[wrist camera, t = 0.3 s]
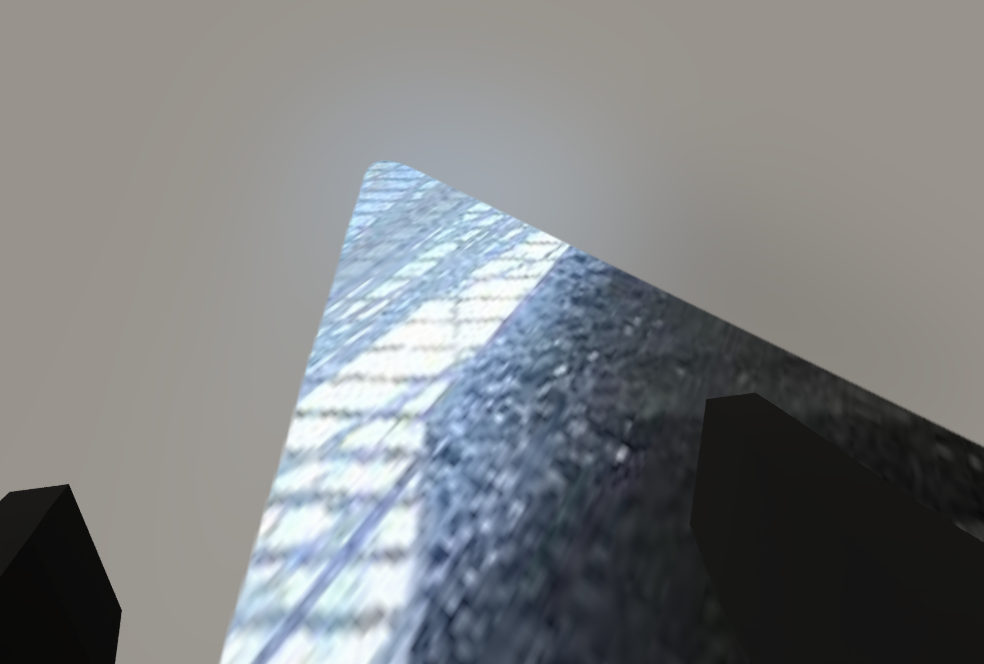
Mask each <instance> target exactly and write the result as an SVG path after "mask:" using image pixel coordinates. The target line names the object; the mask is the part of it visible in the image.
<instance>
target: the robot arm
mask: <svg viewBox="0 0 984 664" xmlns="http://www.w3.org/2000/svg"><path fill="white" fill-rule="evenodd" d="M690 526H691V529H692V531H693V534H694V537H695V540H696V543H697V545H698V548H699V551H700V554H701V556H702V559H703V562H704V565H705V567H706V570H707V573H708V575H709V578H710V580H711V583H712V585H713V588H714V591H715V593H716V596H717V598H718V601H719V603H720V605H721V607H722V609H723V611H724V613H725V615H726V617H727V619H728V621H729V623H730V625H731V626H732V628H733V630H734V632H735V634H736V636H737V638H738V640H739V642H740V644H741V646H742V648H743V650H744V652H745V653H746V655H747V657H748V659H749V661H750V663H751V664H984V542H982V541H980V540H979V539H977V538H975V537H974V536H972V535H970V534H969V533H967V532H965V531H964V530H962V529H960V528H959V527H957V526H956V525H954V524H952V523H951V522H949V521H948V520H946V519H944V518H943V517H941V516H940V515H938V514H936V513H935V512H933V511H932V510H930V509H928V508H927V507H925V506H924V505H922V504H921V503H919V502H918V501H916V500H914V499H913V498H911V497H910V496H908V495H907V494H905V493H904V492H902V491H901V490H899V489H898V488H896V487H895V486H893V485H892V484H890V483H889V482H887V481H886V480H884V479H883V478H881V477H880V476H878V475H877V474H875V473H874V472H872V471H871V470H869V469H868V468H866V467H865V466H863V465H862V464H860V463H859V462H857V461H856V460H854V459H853V458H851V457H850V456H849V455H847V454H846V453H844V452H843V451H841V450H840V449H838V448H837V447H835V446H834V445H832V444H831V443H830V442H828V441H827V440H825V439H824V438H822V437H821V436H819V435H818V434H816V433H815V432H814V431H812V430H811V429H809V428H808V427H806V426H805V425H803V424H802V423H800V422H799V421H797V420H796V419H795V418H793V417H792V416H790V415H789V414H787V413H786V412H784V411H783V410H781V409H780V408H778V407H777V406H775V405H774V404H772V403H771V402H769V401H768V400H766V399H764V398H763V397H761V396H760V395H758V394H756V393H750V394H742V395H735V396H727V397H720V398H712V399H706V405H705V413H704V421H703V428H702V436H701V443H700V451H699V459H698V466H697V474H696V481H695V489H694V497H693V504H692V512H691V519H690ZM121 612H122V610H121V607H120V605H119V603H118V600H117V598H116V595H115V593H114V591H113V588H112V586H111V583H110V581H109V579H108V576H107V574H106V572H105V569H104V567H103V564H102V562H101V560H100V557H99V555H98V553H97V550H96V548H95V545H94V543H93V541H92V538H91V536H90V534H89V531H88V529H87V526H86V524H85V522H84V519H83V517H82V514H81V512H80V510H79V507H78V505H77V502H76V500H75V498H74V495H73V493H72V490H71V488H70V486H69V484H66V485H59V486H52V487H44V488H37V489H29V490H21V491H14V492H9V493H8V494H7V495H6V496H5V497H4V498H3V499H2V500H1V501H0V664H115V660H116V652H117V644H118V636H119V629H120V621H121Z"/></svg>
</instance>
